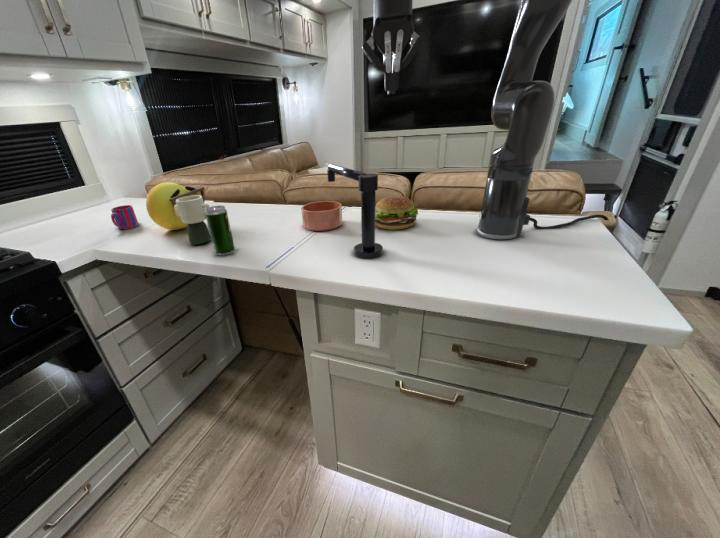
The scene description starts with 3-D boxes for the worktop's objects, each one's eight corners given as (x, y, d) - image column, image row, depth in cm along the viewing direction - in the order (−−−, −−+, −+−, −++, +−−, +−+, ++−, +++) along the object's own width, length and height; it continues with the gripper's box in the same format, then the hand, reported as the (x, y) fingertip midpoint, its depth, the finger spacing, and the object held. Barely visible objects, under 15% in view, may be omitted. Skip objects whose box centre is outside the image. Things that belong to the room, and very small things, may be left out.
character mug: (223, 238, 99) (212, 194, 93) (212, 246, 93) (200, 200, 87) (190, 238, 102) (178, 195, 95) (178, 247, 96) (164, 201, 89)
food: (368, 218, 106) (368, 192, 102) (413, 216, 103) (415, 190, 99) (368, 232, 94) (368, 204, 90) (419, 231, 92) (421, 202, 88)
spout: (381, 195, 73) (381, 174, 71) (364, 198, 72) (364, 177, 70) (336, 179, 93) (336, 162, 90) (323, 181, 92) (322, 164, 89)
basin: (342, 218, 108) (341, 199, 105) (342, 230, 97) (342, 210, 94) (305, 220, 108) (303, 202, 105) (301, 233, 98) (299, 213, 95)
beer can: (219, 257, 86) (207, 212, 80) (212, 252, 90) (201, 208, 84) (238, 252, 88) (228, 207, 82) (231, 247, 92) (221, 204, 86)
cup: (142, 223, 121) (136, 204, 117) (124, 232, 112) (116, 212, 109) (126, 223, 122) (119, 205, 119) (107, 232, 114) (99, 213, 110)
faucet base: (380, 247, 84) (382, 186, 76) (384, 258, 78) (386, 193, 70) (353, 248, 85) (351, 188, 77) (354, 259, 79) (353, 195, 71)
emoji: (182, 238, 102) (167, 188, 95) (143, 235, 108) (126, 188, 100) (212, 222, 115) (201, 177, 107) (177, 220, 120) (164, 177, 113)
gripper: (360, -13, 61) (362, 96, 70) (433, -23, 60) (426, 89, 69) (357, -2, 67) (360, 97, 76) (423, -11, 66) (418, 90, 75)
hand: (391, 93), depth 72 cm, fingers closed
